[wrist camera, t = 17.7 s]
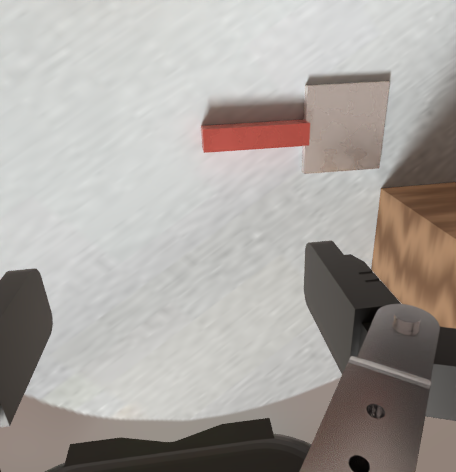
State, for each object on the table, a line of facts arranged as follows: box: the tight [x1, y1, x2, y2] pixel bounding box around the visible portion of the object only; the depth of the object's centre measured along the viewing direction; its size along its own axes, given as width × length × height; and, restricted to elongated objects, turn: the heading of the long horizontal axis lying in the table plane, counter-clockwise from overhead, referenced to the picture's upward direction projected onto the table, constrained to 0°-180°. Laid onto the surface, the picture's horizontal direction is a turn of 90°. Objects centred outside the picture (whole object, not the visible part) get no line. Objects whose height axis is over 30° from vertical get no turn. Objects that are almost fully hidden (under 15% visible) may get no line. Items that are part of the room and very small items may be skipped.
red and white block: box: [201, 81, 390, 174], centre depth 46 cm, size 10×22×2 cm, turn 92°
